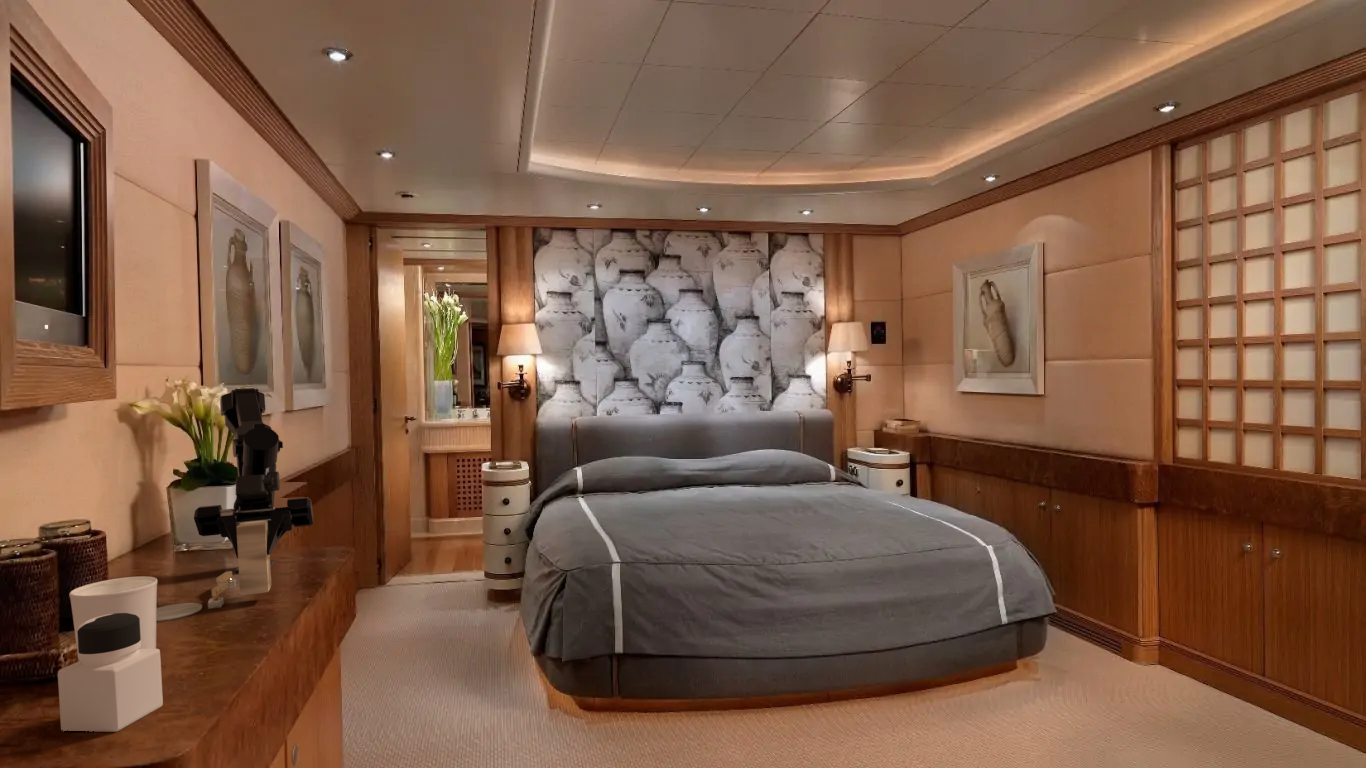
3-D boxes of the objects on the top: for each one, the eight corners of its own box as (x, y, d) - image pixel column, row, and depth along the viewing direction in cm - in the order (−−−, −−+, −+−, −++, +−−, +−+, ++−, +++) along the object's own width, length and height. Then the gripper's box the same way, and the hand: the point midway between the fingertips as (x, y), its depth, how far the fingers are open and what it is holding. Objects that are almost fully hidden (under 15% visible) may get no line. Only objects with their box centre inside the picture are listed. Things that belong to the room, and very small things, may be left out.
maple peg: (243, 589, 143) (240, 522, 142) (271, 585, 144) (267, 520, 144) (240, 595, 139) (236, 527, 138) (268, 591, 140) (264, 524, 140)
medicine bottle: (164, 706, 97) (159, 608, 97) (117, 732, 90) (111, 627, 89) (110, 705, 97) (105, 608, 97) (59, 732, 90) (53, 627, 90)
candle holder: (178, 662, 112) (174, 577, 112) (108, 690, 103) (103, 597, 102) (128, 657, 115) (124, 574, 115) (56, 683, 106) (51, 593, 106)
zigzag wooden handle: (222, 586, 154) (221, 571, 154) (238, 584, 155) (237, 569, 155) (205, 609, 139) (204, 591, 138) (223, 606, 140) (222, 589, 139)
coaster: (148, 609, 139) (147, 607, 139) (206, 602, 143) (206, 600, 143) (133, 624, 131) (133, 622, 131) (196, 616, 134) (196, 613, 134)
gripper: (193, 462, 141) (182, 535, 131) (308, 453, 148) (307, 522, 138) (204, 499, 149) (195, 571, 139) (314, 490, 156) (312, 558, 145)
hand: (252, 555), depth 140 cm, fingers closed on maple peg, 4 cm apart
